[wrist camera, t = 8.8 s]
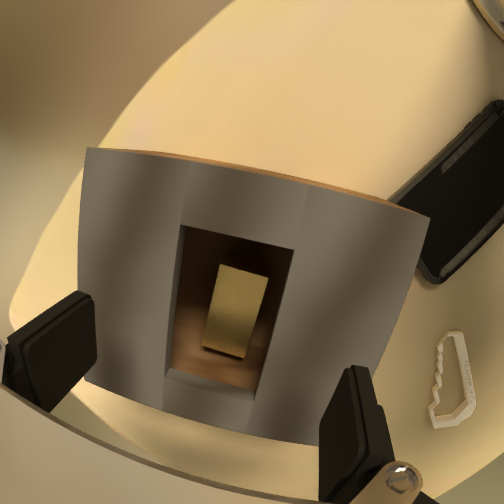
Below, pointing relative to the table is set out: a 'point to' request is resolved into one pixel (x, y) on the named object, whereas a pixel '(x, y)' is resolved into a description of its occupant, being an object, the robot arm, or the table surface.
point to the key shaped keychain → (470, 402)
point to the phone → (459, 195)
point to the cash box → (204, 279)
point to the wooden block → (236, 302)
